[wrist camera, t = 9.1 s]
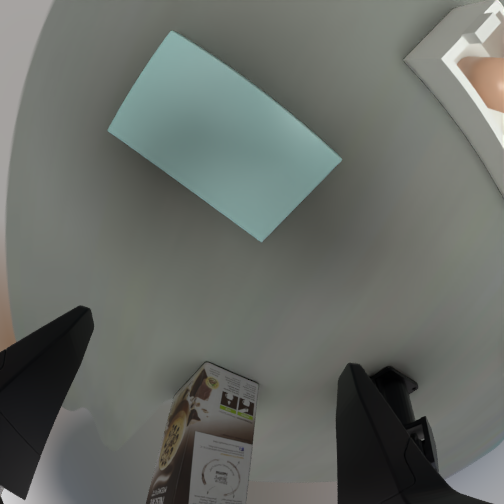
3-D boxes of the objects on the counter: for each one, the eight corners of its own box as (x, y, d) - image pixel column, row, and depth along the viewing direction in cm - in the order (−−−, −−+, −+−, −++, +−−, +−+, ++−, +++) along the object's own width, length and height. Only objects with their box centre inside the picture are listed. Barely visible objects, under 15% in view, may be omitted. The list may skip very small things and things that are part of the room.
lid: (338, 153, 18) (342, 159, 17) (262, 231, 22) (261, 242, 21) (179, 33, 15) (171, 30, 14) (118, 126, 18) (107, 130, 17)
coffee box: (204, 359, 29) (168, 519, 15) (260, 383, 30) (246, 534, 17) (172, 394, 33) (139, 519, 20) (220, 414, 35) (200, 534, 21)
